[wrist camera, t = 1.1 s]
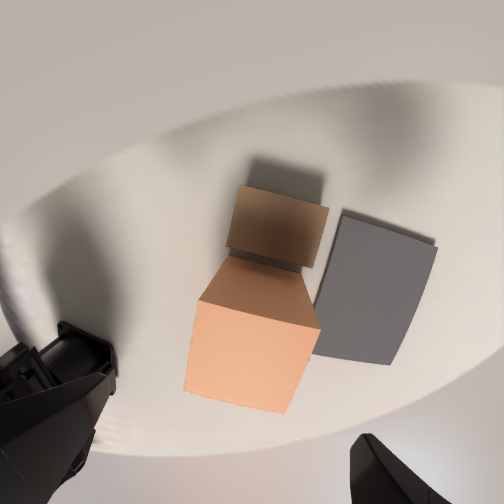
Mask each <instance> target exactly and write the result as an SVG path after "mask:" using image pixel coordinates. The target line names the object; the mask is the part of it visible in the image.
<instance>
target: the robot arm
mask: <svg viewBox="0 0 504 504" xmlns="http://www.w3.org/2000/svg"><path fill="white" fill-rule="evenodd" d="M57 327H58V336H59V337H58V338H57V339H55V340H54V341H53V342H51V343H50V344H49V345H47V346H46V347H45V348H43V349H42V350H41V351H40V352H38V351H37V349H36V348H35V346H33V347H31V348H28V347H27V346H25V345H24V344H23V343H22V342H21V343H19V344H17V345H16V346H14V347H13V348H12V349H10V350H9V351H7V352H6V353H5V354H4V355H2V356H1V357H0V504H47V503H48V501H49V500H50V498H51V496H52V495H53V493H54V492H55V491H56V490H57V489H58V488H59V487H60V486H61V485H62V484H63V483H64V482H65V481H67V480H68V479H70V478H72V477H73V476H75V475H76V474H77V473H78V472H79V471H80V470H81V469H82V467H83V466H84V464H85V462H86V460H87V456H88V453H89V450H90V447H91V444H92V441H93V437H94V434H95V432H96V430H95V429H94V427H95V425H96V423H97V421H98V419H99V416H100V414H101V412H102V410H103V408H104V406H105V404H106V402H107V400H108V398H109V395H111V396H112V395H114V393H115V387H116V381H115V368H114V365H113V347H112V345H111V344H110V343H108V342H106V341H103V340H101V339H99V338H97V337H94V336H92V335H90V334H88V333H86V332H84V331H82V330H79V329H77V328H75V327H73V326H71V325H69V324H67V323H65V322H63V321H60V322H58V324H57ZM106 347H107V348H108V349H107V348H106ZM350 490H351V499H352V504H452V503H450V502H448V501H447V500H446V499H444V498H443V497H442V496H441V495H439V494H438V493H437V492H436V491H434V490H433V489H432V488H431V487H429V486H428V485H427V484H426V483H425V482H424V481H423V480H422V479H421V478H419V477H418V476H417V475H416V474H415V473H414V472H413V471H412V470H411V469H409V468H408V467H407V466H406V465H405V464H404V463H403V462H402V461H401V460H400V459H398V458H397V457H396V456H395V455H394V454H393V453H392V452H391V451H390V450H389V449H388V448H387V447H386V446H385V445H384V444H383V443H382V442H381V441H379V440H378V439H377V438H376V437H375V436H374V435H373V434H371V433H366V434H365V433H363V434H361V435H360V436H359V437H358V439H357V440H356V441H355V443H354V444H353V445H352V447H351V449H350Z"/></svg>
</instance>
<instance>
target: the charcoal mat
mask: <svg viewBox="0 0 504 504" xmlns="http://www.w3.org/2000/svg"><path fill="white" fill-rule="evenodd" d="M437 250H438V247H436V246H433V245H430V244H427V243H425V242H422V241H419V240H416V239H413V238H411V237H408V236H405V235H402V234H399V233H396V232H393V231H390V230H387V229H384V228H381V227H378V226H375V225H372V224H369V223H365V222H362V221H359V220H356V219H353V218H349V217H346V216H343V215H341V217H340V220H339V224H338V228H337V231H336V235H335V238H334V242H333V245H332V249H331V252H330V256H329V259H328V262H327V265H326V269H325V272H324V275H323V278H322V281H321V284H320V287H319V290H318V294H317V297H316V299H315V302H314V305H313V308H314V311H315V314H316V317H317V320H318V323H319V326H320V329H321V331H320V334H319V336H318V339H317V341H316V344H315V346H314V349H313V351H312V354H315V355H321V356H327V357H333V358H339V359H345V360H352V361H359V362H366V363H374V364H382V365H391V363H392V361H393V359H394V357H395V355H396V353H397V351H398V349H399V347H400V345H401V343H402V341H403V339H404V337H405V335H406V332H407V330H408V328H409V326H410V324H411V321H412V319H413V317H414V314H415V312H416V309H417V307H418V304H419V302H420V299H421V297H422V294H423V292H424V289H425V286H426V283H427V281H428V278H429V275H430V272H431V269H432V266H433V263H434V260H435V256H436V253H437Z"/></svg>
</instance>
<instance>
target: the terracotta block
mask: <svg viewBox="0 0 504 504" xmlns="http://www.w3.org/2000/svg"><path fill="white" fill-rule="evenodd" d="M320 331H321V329H320V326H319V323H318V320H317V317H316V314H315V311H314V308H313V305H312V303H311V300H310V297H309V294H308V291H307V289H306V286H305V283H304V280H303V278H302V275H301V274H299V273H295V272H291V271H287V270H283V269H279V268H275V267H271V266H267V265H263V264H259V263H255V262H251V261H248V260H244V259H240V258H236V257H232V256H228V257H227V259H226V260H225V262H224V263H223V265H222V266H221V267H220V269H219V270H218V272H217V273H216V275H215V276H214V278H213V279H212V281H211V282H210V284H209V285H208V287H207V288H206V290H205V291H204V293H203V294H202V295H201V297H200V298H199V300H198V305H197V310H196V316H195V321H194V327H193V333H192V339H191V345H190V351H189V357H188V363H187V369H186V376H185V383H184V390H183V391H186V392H190V393H193V394H196V395H200V396H203V397H207V398H211V399H214V400H218V401H222V402H226V403H230V404H235V405H239V406H244V407H248V408H253V409H258V410H264V411H269V412H275V413H281V414H285V412H286V410H287V408H288V406H289V403H290V401H291V399H292V397H293V395H294V393H295V391H296V388H297V386H298V384H299V382H300V379H301V377H302V375H303V373H304V370H305V368H306V366H307V363H308V361H309V358H310V356H311V354H312V351H313V349H314V346H315V344H316V341H317V339H318V336H319V334H320Z"/></svg>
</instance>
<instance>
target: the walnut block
mask: <svg viewBox="0 0 504 504" xmlns="http://www.w3.org/2000/svg"><path fill="white" fill-rule="evenodd" d="M328 212H329V208H328V207H324V206H321V205H317V204H314V203H310V202H307V201H303V200H299V199H296V198H292V197H288V196H284V195H280V194H276V193H272V192H268V191H264V190H260V189H256V188H252V187H248V186H244V185H240V188H239V193H238V197H237V201H236V205H235V209H234V214H233V218H232V222H231V226H230V231H229V235H228V240H227V244H226V247H230V248H234V249H238V250H242V251H246V252H250V253H254V254H258V255H262V256H266V257H270V258H273V259H277V260H281V261H285V262H289V263H293V264H297V265H301V266H305V267H309V268H313V265H314V262H315V258H316V255H317V252H318V248H319V245H320V241H321V238H322V234H323V230H324V227H325V223H326V219H327V216H328Z"/></svg>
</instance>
